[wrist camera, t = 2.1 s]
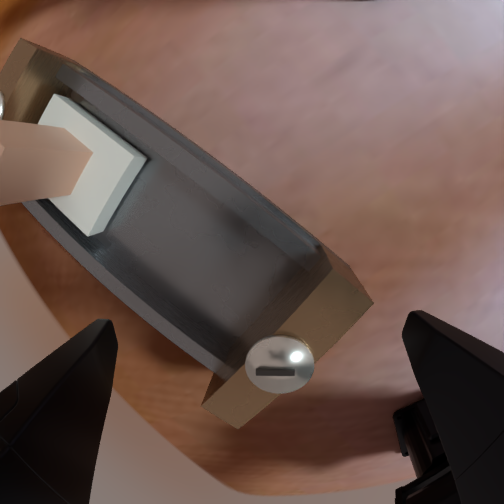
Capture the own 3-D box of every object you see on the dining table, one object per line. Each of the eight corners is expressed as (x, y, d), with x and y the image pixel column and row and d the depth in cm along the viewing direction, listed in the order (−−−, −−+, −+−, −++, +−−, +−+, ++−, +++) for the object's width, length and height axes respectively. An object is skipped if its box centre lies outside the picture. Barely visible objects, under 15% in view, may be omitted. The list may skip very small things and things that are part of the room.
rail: (353, 269, 19) (382, 311, 13) (254, 372, 22) (241, 438, 15) (70, 58, 18) (13, 34, 11) (13, 165, 20) (-46, 168, 14)
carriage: (147, 157, 17) (48, 149, 9) (103, 231, 19) (4, 267, 10) (69, 98, 17) (-26, 74, 9) (34, 165, 18) (-61, 172, 10)
